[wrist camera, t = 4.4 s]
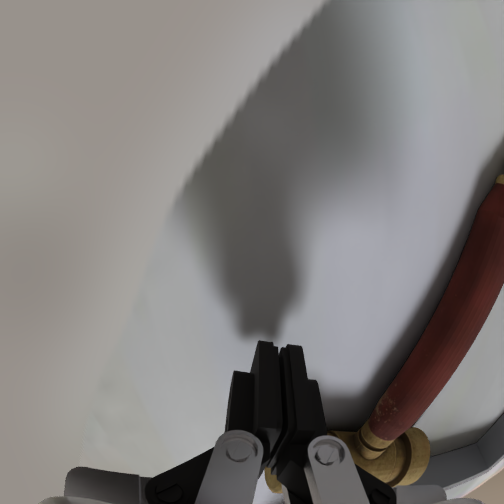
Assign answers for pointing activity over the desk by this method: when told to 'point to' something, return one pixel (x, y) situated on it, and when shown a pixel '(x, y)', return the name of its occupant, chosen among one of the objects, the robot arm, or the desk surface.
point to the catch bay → (466, 460)
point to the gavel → (431, 357)
